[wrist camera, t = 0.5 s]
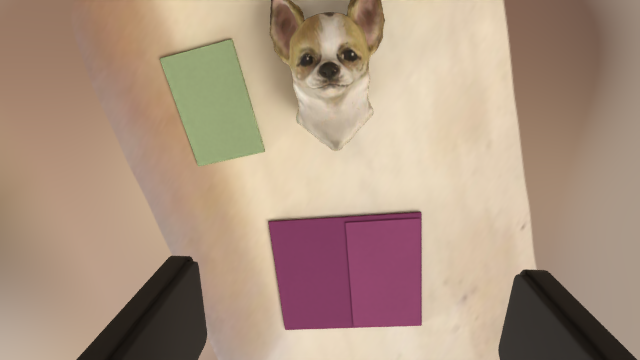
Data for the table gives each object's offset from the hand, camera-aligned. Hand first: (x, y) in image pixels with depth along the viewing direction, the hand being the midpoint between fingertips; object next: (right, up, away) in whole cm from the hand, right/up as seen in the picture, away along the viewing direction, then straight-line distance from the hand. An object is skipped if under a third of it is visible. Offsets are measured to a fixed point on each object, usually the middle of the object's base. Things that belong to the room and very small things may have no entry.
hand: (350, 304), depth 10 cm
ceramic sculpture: (0, +16, +25) cm, 29 cm away
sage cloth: (-12, +12, +27) cm, 32 cm away
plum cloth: (+3, -8, +32) cm, 33 cm away
